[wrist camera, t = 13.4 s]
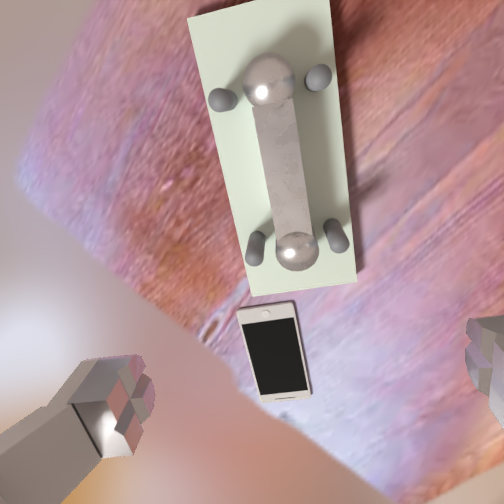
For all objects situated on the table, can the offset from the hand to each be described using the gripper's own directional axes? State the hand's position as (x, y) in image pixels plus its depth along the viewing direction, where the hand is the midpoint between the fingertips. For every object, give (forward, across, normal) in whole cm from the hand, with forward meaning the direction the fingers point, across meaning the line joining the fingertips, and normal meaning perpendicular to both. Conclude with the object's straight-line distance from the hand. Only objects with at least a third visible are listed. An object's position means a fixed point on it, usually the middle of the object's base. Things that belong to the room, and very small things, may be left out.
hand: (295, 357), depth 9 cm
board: (+29, +1, 0) cm, 29 cm away
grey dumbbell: (+28, 0, 0) cm, 28 cm away
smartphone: (+30, +6, +24) cm, 39 cm away
